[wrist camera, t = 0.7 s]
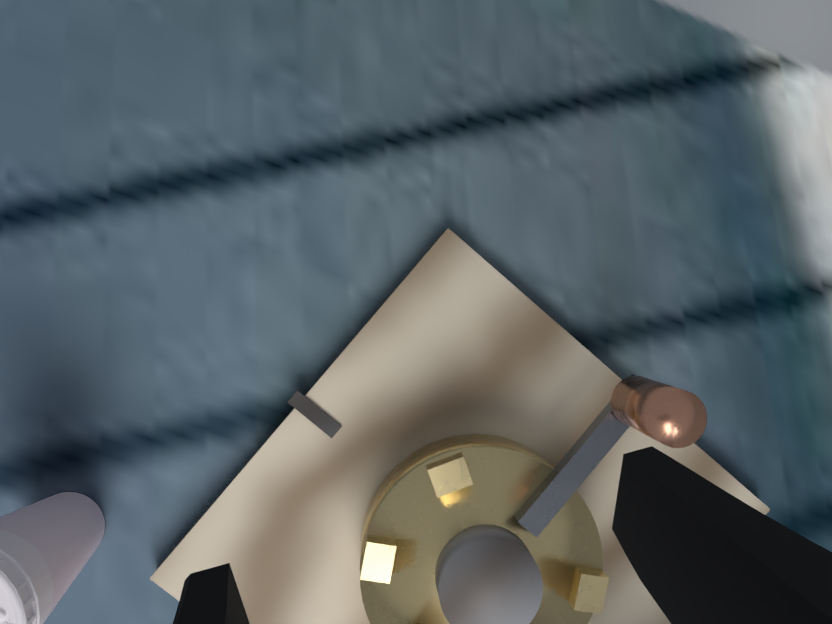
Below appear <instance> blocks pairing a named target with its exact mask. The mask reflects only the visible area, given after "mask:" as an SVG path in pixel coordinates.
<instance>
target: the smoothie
mask: <svg viewBox="0 0 832 624" xmlns="http://www.w3.org/2000/svg"><path fill="white" fill-rule="evenodd" d="M104 532H105V520H104V516H103V513H102V511H101V509H100V508H99V506H98V505H97V504H96V503H95V502H94V501H93V500H92V499H91V498H89V497H87V496H85V495H83V494H80V493H76V492H62V493H58V494H55V495H53V496H50V497H48V498H45V499H43V500H41V501H38V502H36V503H33V504H31V505H28V506H26V507H23V508H21V509H19V510H16V511H14V512H11V513H9V514H6V515H4V516H1V517H0V624H43V623H44V622H45V620H46V619H47V617H48V616H49V614H50V613H51V612H52V610H53V609H54V607H55V606H56V605H57V603H58V602H59V600H60V599H61V598H62V596H63V595H64V593H65V592H66V591H67V589H68V588H69V586H70V585H71V584H72V582H73V581H74V579H75V578H76V576H77V575H78V574H79V572H80V571H81V569H82V568H83V567H84V565H85V564H86V562H87V561H88V560H89V558H90V557H91V555H92V554H93V553H94V551H95V550H96V548H97V547H98V546H99V544H100V543H101V541H102V539H103V536H104Z"/></svg>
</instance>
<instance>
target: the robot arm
mask: <svg viewBox="0 0 832 624" xmlns="http://www.w3.org/2000/svg"><path fill="white" fill-rule="evenodd" d="M612 530H613V532H614V534H615V535H616V537H617V539H618V541H619V543H620V545H621V547H622V549H623V550H624V552H625V554H626V556H627V558H628V560H629V561H630V563H631V565H632V566H633V568H634V570H635V572H636V573H637V575H638V577H639V579H640V580H641V582H642V583H643V585H644V586H645V587H646V589H647V590H648V592H649V593H650V595H651V596H652V597H653V599H654V600H655V602H656V603H657V604H658V606H659V607H660V609H661V610H662V612H663V613H664V614H665V616H666V617H667V619H668V620H669V621H670V623H671V624H832V552H830V551H828V550H826V549H825V548H823V547H821V546H819V545H817V544H815V543H813V542H812V541H810V540H808V539H806V538H804V537H803V536H801V535H799V534H797V533H796V532H794V531H792V530H790V529H788V528H787V527H785V526H783V525H781V524H780V523H778V522H776V521H775V520H773V519H771V518H769V517H768V516H766V515H764V514H763V513H761V512H759V511H758V510H756V509H754V508H753V507H751V506H749V505H748V504H746V503H744V502H743V501H741V500H739V499H738V498H736V497H734V496H733V495H731V494H729V493H728V492H726V491H725V490H723V489H721V488H720V487H718V486H716V485H715V484H713V483H712V482H710V481H708V480H707V479H705V478H703V477H702V476H700V475H699V474H697V473H695V472H694V471H692V470H691V469H689V468H687V467H686V466H684V465H682V464H681V463H679V462H678V461H676V460H674V459H673V458H671V457H669V456H668V455H666V454H664V453H663V452H661V451H659V450H658V449H656V448H654V447H652V446H651V447H647V448H643V449H640V450H636V451H633V452H629V453H625V454H623V460H622V467H621V473H620V479H619V486H618V492H617V499H616V505H615V512H614V518H613V525H612ZM173 624H250V623H249V620H248V617H247V614H246V611H245V608H244V605H243V602H242V599H241V596H240V593H239V590H238V587H237V584H236V581H235V578H234V575H233V572H232V569H231V566H230V563H227V564H224V565H220V566H216V567H213V568H209V569H206V570H202V571H198V572H195V573H191V574H190V575H189V576H188V577H187V578H186V579H185V581H184V585H183V589H182V593H181V597H180V601H179V604H178V608H177V611H176V615H175V618H174V621H173Z"/></svg>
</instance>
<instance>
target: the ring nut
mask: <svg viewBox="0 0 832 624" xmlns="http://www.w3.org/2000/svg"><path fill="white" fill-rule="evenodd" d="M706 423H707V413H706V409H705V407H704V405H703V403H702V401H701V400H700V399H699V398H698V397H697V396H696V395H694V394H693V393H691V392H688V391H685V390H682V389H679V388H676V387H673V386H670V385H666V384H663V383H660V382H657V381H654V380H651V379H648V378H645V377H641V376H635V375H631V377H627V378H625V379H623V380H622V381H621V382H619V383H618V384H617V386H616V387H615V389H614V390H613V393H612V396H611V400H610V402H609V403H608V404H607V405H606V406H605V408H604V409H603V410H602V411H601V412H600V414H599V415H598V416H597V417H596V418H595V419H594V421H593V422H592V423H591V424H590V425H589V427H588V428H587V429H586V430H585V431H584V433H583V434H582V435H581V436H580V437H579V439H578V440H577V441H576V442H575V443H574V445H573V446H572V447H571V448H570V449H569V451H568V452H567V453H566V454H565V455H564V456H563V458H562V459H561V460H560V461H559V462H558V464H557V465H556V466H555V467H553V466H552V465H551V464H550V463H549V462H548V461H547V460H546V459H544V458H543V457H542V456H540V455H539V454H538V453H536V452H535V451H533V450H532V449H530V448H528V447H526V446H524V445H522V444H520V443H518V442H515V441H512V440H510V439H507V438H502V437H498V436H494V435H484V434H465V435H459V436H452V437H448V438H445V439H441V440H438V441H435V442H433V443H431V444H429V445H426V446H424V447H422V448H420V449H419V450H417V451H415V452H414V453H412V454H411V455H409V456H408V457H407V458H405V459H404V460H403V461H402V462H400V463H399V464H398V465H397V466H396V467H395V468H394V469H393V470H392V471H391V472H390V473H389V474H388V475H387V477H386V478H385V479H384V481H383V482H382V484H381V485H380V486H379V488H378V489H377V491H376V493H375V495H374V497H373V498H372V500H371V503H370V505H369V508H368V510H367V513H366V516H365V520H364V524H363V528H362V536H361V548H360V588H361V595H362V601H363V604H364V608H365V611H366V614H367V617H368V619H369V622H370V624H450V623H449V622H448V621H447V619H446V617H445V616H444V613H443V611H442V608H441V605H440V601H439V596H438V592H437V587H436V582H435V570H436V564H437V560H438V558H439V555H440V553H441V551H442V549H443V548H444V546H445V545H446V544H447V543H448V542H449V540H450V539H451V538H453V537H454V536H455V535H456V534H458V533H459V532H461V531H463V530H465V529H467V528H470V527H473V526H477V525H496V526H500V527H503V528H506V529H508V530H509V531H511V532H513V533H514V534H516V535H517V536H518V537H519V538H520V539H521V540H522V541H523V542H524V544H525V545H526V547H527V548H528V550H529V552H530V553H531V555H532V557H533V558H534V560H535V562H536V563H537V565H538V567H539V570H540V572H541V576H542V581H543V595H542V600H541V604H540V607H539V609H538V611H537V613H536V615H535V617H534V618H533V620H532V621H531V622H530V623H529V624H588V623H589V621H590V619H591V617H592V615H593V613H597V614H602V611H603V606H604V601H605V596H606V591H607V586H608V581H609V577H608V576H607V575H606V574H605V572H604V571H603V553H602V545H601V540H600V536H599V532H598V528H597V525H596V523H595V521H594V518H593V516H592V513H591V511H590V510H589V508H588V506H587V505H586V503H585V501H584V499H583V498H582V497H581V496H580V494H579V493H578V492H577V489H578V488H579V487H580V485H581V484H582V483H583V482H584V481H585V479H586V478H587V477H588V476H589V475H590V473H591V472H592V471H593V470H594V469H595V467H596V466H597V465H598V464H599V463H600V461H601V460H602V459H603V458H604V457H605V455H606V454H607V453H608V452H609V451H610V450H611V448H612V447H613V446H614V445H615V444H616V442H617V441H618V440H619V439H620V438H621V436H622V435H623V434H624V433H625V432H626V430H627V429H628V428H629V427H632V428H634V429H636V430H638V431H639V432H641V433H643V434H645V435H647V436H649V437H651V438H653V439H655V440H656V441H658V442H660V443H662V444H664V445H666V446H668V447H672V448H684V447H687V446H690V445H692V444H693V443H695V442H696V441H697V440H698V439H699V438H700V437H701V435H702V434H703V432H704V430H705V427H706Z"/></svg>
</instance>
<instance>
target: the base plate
mask: <svg viewBox="0 0 832 624" xmlns="http://www.w3.org/2000/svg"><path fill="white" fill-rule="evenodd" d="M621 381H622V379H621V378H619V377H618V376H617V375H616V374H615V373H614V372H613V371H611V370H610V369H609V368H608V367H607V366H606V365H605V364H603V363H602V362H601V361H600V360H599V359H598V358H597V357H595V356H594V355H593V354H592V353H591V352H590V351H589V350H587V349H586V348H585V347H584V346H583V345H582V344H581V343H579V342H578V341H577V340H576V339H575V338H574V337H573V336H571V335H570V334H569V333H568V332H567V331H566V330H565V329H563V328H562V327H561V326H560V325H559V324H558V323H557V322H555V321H554V320H553V319H552V318H551V317H550V316H548V315H547V314H546V313H545V312H544V311H543V310H542V309H540V308H539V307H538V306H537V305H536V304H535V303H534V302H532V301H531V300H530V299H529V298H528V297H527V296H526V295H524V294H523V293H522V292H521V291H520V290H519V289H518V288H516V287H515V286H514V285H513V284H512V283H511V282H510V281H508V280H507V279H506V278H505V277H504V276H503V275H502V274H500V273H499V272H498V271H497V270H496V269H495V268H494V267H492V266H491V265H490V264H489V263H488V262H487V261H486V260H484V259H483V258H482V257H481V256H480V255H479V254H478V253H476V252H475V251H474V250H473V249H472V248H471V247H470V246H468V245H467V244H466V243H465V242H464V241H463V240H462V239H460V238H459V237H458V236H457V235H456V234H455V233H453V232H452V231H451V230H450V229H449V228H448V229H446V230H445V231H444V233H443V234H442V235H441V236H440V237H439V239H438V240H437V241H436V242H435V243H434V244H433V246H432V247H431V248H430V249H429V250H428V251H427V253H426V254H425V255H424V256H423V257H422V258H421V260H420V261H419V262H418V263H417V264H416V266H415V267H414V268H413V269H412V270H411V271H410V273H409V274H408V275H407V276H406V277H405V278H404V280H403V281H402V282H401V283H400V284H399V285H398V287H397V288H396V289H395V290H394V291H393V293H392V294H391V295H390V296H389V297H388V298H387V300H386V301H385V302H384V303H383V304H382V305H381V307H380V308H379V309H378V310H377V311H376V312H375V314H374V315H373V316H372V317H371V318H370V320H369V321H368V322H367V323H366V324H365V325H364V327H363V328H362V329H361V330H360V331H359V332H358V334H357V335H356V336H355V337H354V338H353V339H352V341H351V342H350V343H349V344H348V345H347V347H346V348H345V349H344V350H343V351H342V352H341V354H340V355H339V356H338V357H337V358H336V359H335V361H334V362H333V363H332V364H331V365H330V367H329V368H328V369H327V370H326V371H325V372H324V374H323V375H322V376H321V377H320V378H319V379H318V381H317V382H316V383H315V384H314V385H313V386H312V388H311V389H310V390H309V391H308V392H307V394H306V395H305V396H304V395H303V394H302V393H301V392H300V391H298V390H297V391H296V393H295V394H294V395H293V396H292V397H291V398H290V400H289V401H288V403H289V404H290V405H291V406H293V407H294V409H293V410H292V411H291V412H290V413H289V415H288V416H287V417H286V418H285V419H284V421H283V422H282V423H281V424H280V425H279V426H278V428H277V429H276V430H275V431H274V432H273V433H272V435H271V436H270V437H269V438H268V439H267V440H266V442H265V443H264V444H263V445H262V446H261V448H260V449H259V450H258V451H257V452H256V453H255V455H254V456H253V457H252V458H251V459H250V460H249V462H248V463H247V464H246V465H245V466H244V467H243V469H242V470H241V471H240V472H239V473H238V475H237V476H236V477H235V478H234V479H233V480H232V482H231V483H230V484H229V485H228V486H227V487H226V489H225V490H224V491H223V492H222V493H221V495H220V496H219V497H218V498H217V499H216V500H215V502H214V503H213V504H212V505H211V506H210V507H209V509H208V510H207V511H206V512H205V513H204V514H203V516H202V517H201V518H200V519H199V520H198V522H197V523H196V524H195V525H194V526H193V527H192V529H191V530H190V531H189V532H188V533H187V534H186V536H185V537H184V538H183V539H182V540H181V541H180V543H179V544H178V545H177V546H176V547H175V549H174V550H173V551H172V552H171V553H170V554H169V556H168V557H167V558H166V559H165V560H164V561H163V563H162V564H161V565H160V566H159V567H158V568H157V570H156V571H155V572H154V574H153V575H152V576H151V578H150V579H151V580H152V581H153V582H155V583H156V584H157V585H159V586H160V587H161V588H163V589H164V590H165V591H166V592H168V593H169V594H170V595H172V596H173V597H174V598H176V599H177V600H178V601H180V597H181V593H182V589H183V585H184V581H185V579H186V578H187V577H188V576H189V575H190V574H191V573H195V572H198V571H202V570H206V569H209V568H213V567H216V566H220V565H224V564H227V563H230V566H231V569H232V572H233V575H234V578H235V581H236V584H237V587H238V590H239V593H240V596H241V599H242V602H243V605H244V608H245V611H246V614H247V617H248V620H249V623H250V624H370V622H369V619H368V617H367V614H366V611H365V608H364V604H363V601H362V595H361V588H360V548H361V536H362V528H363V524H364V520H365V516H366V513H367V510H368V508H369V505H370V503H371V500H372V498H373V497H374V495H375V493H376V491H377V489H378V488H379V486H380V485H381V484H382V482H383V481H384V479H385V478H386V477H387V475H388V474H389V473H390V472H391V471H392V470H393V469H394V468H395V467H396V466H397V465H398V464H399V463H400V462H402V461H403V460H404V459H405V458H407V457H408V456H409V455H411V454H412V453H414V452H415V451H417V450H419V449H420V448H422V447H424V446H426V445H429V444H431V443H433V442H435V441H438V440H441V439H445V438H448V437H452V436H459V435H465V434H484V435H494V436H498V437H502V438H507V439H510V440H512V441H515V442H518V443H520V444H522V445H524V446H526V447H528V448H530V449H532V450H533V451H535V452H536V453H538V454H539V455H540V456H542V457H543V458H544V459H546V460H547V461H548V462H549V463H550V464H551V465H552V466H553V467H555V466H556V465H557V464H558V462H559V461H560V460H561V459H562V458H563V456H564V455H565V454H566V453H567V452H568V451H569V449H570V448H571V447H572V446H573V445H574V443H575V442H576V441H577V440H578V439H579V437H580V436H581V435H582V434H583V433H584V431H585V430H586V429H587V428H588V427H589V425H590V424H591V423H592V422H593V421H594V419H595V418H596V417H597V416H598V415H599V414H600V412H601V411H602V410H603V409H604V408H605V406H606V405H607V404H608V403H609V402H610V400H611V396H612V393H613V390H614V389H615V387H616V386H617V384H618V383H619V382H621ZM651 446H652V447H654V448H656V449H658V450H659V451H661V452H663V453H664V454H666V455H668V456H669V457H671V458H673V459H674V460H676V461H678V462H679V463H681V464H682V465H684V466H686V467H687V468H689V469H691V470H692V471H694V472H695V473H697V474H699V475H700V476H702V477H703V478H705V479H707V480H708V481H710V482H712V483H713V484H715V485H716V486H718V487H720V488H721V489H723V490H725V491H726V492H728V493H729V494H731V495H733V496H734V497H736V498H738V499H739V500H741V501H743V502H744V503H746V504H748V505H749V506H751V507H753V508H754V509H756V510H758V511H759V512H761V513H763V514H764V515H766V514H767V513H768V512H769V510H770V509H769V508H768V507H767V506H766V505H765V504H764V503H763V502H761V501H760V500H759V499H758V498H757V497H756V496H755V495H753V494H752V493H751V492H750V491H749V490H748V489H747V488H745V487H744V486H743V485H742V484H741V483H740V482H738V481H737V480H736V479H735V478H734V477H733V476H732V475H730V474H729V473H728V472H727V471H726V470H725V469H724V468H722V467H721V466H720V465H719V464H718V463H717V462H716V461H714V460H713V459H712V458H711V457H710V456H709V455H708V454H706V453H705V452H704V451H703V450H702V449H701V448H700V447H698V446H697V445H696V444H695V443H693V444H692V445H690V446H687V447H684V448H672V447H668V446H666V445H664V444H662V443H660V442H658V441H656V440H655V439H653V438H651V437H649V436H647V435H645V434H643V433H641V432H639V431H638V430H636V429H634V428H632V427H629V428H628V429H627V430H626V432H625V433H624V434H623V435H622V436H621V438H620V439H619V440H618V441H617V442H616V444H615V445H614V446H613V447H612V448H611V450H610V451H609V452H608V453H607V454H606V455H605V457H604V458H603V459H602V460H601V461H600V463H599V464H598V465H597V466H596V467H595V469H594V470H593V471H592V472H591V473H590V475H589V476H588V477H587V478H586V479H585V481H584V482H583V483H582V484H581V485H580V487H579V488H578V489H577V492H578V493H579V494H580V496H581V497H582V498H583V499H584V501H585V503H586V505H587V506H588V508H589V510H590V511H591V513H592V516H593V518H594V521H595V523H596V525H597V528H598V532H599V536H600V540H601V545H602V553H603V571H604V572H605V574H606V575H607V576H608V577H609V581H608V586H607V591H606V596H605V601H604V606H603V611H602V614H597V613H593V615H592V617H591V619H590V621H589V623H588V624H671V623H670V621H669V620H668V619H667V617H666V616H665V614H664V613H663V612H662V610H661V609H660V607H659V606H658V604H657V603H656V602H655V600H654V599H653V597H652V596H651V595H650V593H649V592H648V590H647V589H646V587H645V586H644V585H643V583H642V582H641V580H640V579H639V577H638V575H637V573H636V572H635V570H634V568H633V566H632V565H631V563H630V561H629V560H628V558H627V556H626V554H625V552H624V550H623V549H622V547H621V545H620V543H619V541H618V539H617V537H616V535H615V534H614V532H613V530H612V525H613V518H614V512H615V505H616V499H617V492H618V486H619V479H620V473H621V467H622V460H623V454H625V453H629V452H633V451H636V450H640V449H643V448H647V447H651ZM435 582H436V587H437V592H438V596H439V601H440V605H441V608H442V611H443V613H444V616H445V617H446V619H447V621H448V622H449V623H450V624H529V623H530V622H531V621H532V620H533V618H534V617H535V615H536V613H537V611H538V609H539V607H540V604H541V600H542V595H543V581H542V576H541V572H540V570H539V567H538V565H537V563H536V562H535V560H534V558H533V557H532V555H531V553H530V552H529V550H528V548H527V547H526V545H525V544H524V542H523V541H522V540H521V539H520V538H519V537H518V536H517V535H516V534H514V533H513V532H511V531H509V530H508V529H506V528H503V527H500V526H496V525H477V526H473V527H470V528H467V529H465V530H463V531H461V532H459V533H458V534H456V535H455V536H454V537H453V538H451V539H450V540H449V542H448V543H447V544H446V545H445V546H444V548H443V549H442V551H441V553H440V555H439V558H438V560H437V564H436V570H435Z"/></svg>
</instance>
